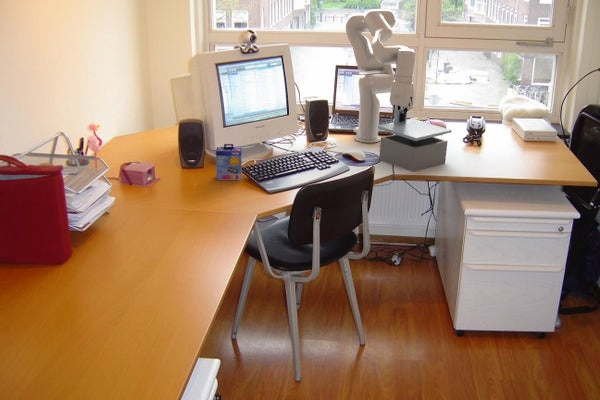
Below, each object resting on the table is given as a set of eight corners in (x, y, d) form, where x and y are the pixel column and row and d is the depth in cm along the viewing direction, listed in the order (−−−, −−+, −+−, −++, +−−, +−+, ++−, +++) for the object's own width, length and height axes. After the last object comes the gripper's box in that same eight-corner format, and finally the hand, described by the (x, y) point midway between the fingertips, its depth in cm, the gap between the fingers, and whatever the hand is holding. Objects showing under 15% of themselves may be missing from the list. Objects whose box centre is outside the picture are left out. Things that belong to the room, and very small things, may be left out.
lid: (377, 130, 285) (378, 112, 282) (412, 123, 298) (414, 105, 295) (415, 143, 270) (417, 123, 267) (451, 135, 283) (453, 116, 279)
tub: (379, 159, 290) (380, 137, 286) (410, 152, 301) (412, 130, 298) (413, 171, 275) (415, 148, 271) (445, 163, 287) (447, 140, 283)
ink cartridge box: (216, 180, 259) (215, 144, 254) (216, 176, 264) (215, 140, 259) (241, 180, 260) (241, 144, 254) (241, 175, 265) (241, 140, 260)
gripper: (384, 76, 286) (381, 118, 292) (411, 83, 274) (407, 126, 281) (396, 74, 290) (393, 116, 297) (423, 81, 279) (419, 124, 285)
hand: (400, 120), depth 289 cm, fingers closed on lid, 1 cm apart
